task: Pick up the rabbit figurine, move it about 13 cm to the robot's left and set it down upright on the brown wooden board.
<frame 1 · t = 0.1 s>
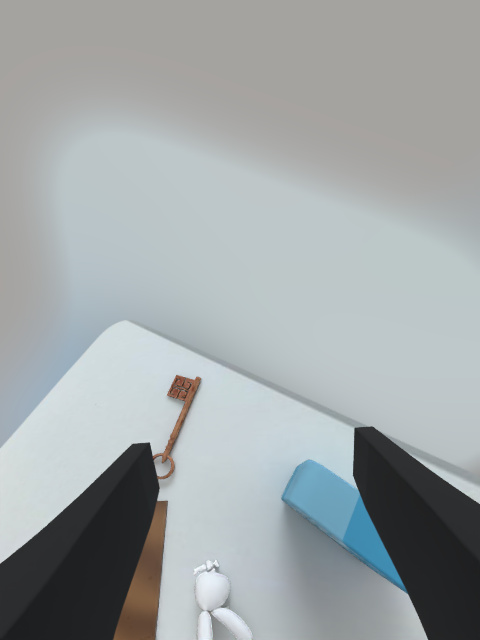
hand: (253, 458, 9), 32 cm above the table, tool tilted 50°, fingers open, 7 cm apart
rabbit figurine: (220, 604, 30), on the table
brown wooden board: (106, 609, 30), on the table
data package: (329, 512, 34), on the table
key: (174, 422, 41), on the table
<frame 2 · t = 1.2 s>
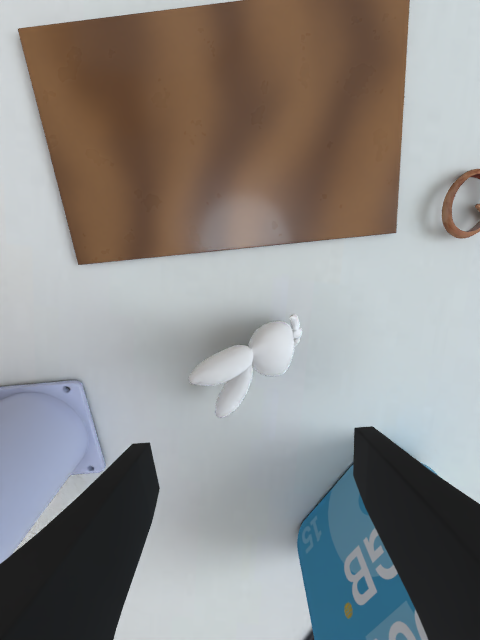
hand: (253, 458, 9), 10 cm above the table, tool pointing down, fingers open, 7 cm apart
rabbit figurine: (244, 349, 19), on the table
brown wooden board: (224, 142, 16), on the table
data package: (353, 493, 23), on the table
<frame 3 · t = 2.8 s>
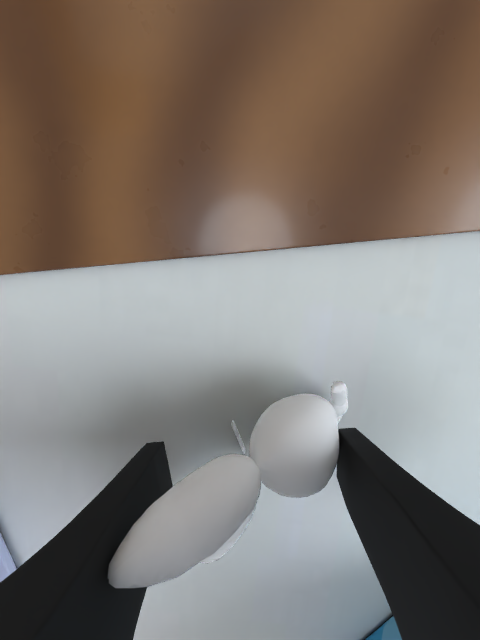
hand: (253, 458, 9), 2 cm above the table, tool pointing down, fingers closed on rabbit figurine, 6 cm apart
rabbit figurine: (245, 425, 11), on the table, touching gripper
brown wooden board: (214, 33, 8), on the table
data package: (414, 628, 15), on the table
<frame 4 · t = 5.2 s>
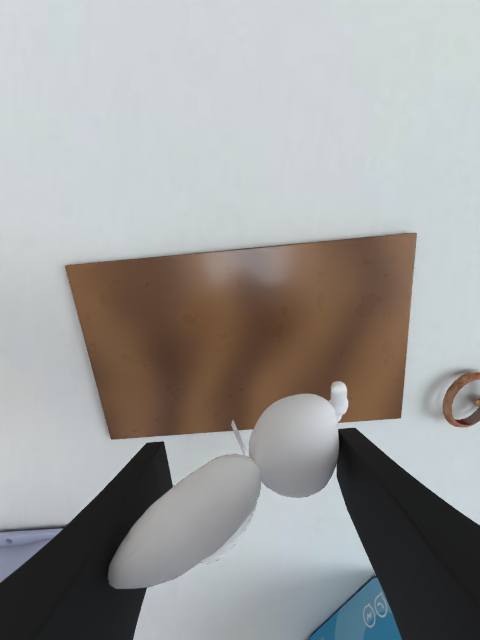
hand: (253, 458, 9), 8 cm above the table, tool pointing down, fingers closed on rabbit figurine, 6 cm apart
rabbit figurine: (245, 425, 11), point 6 cm above the table, touching gripper
brown wooden board: (246, 345, 17), on the table
data package: (358, 613, 24), on the table
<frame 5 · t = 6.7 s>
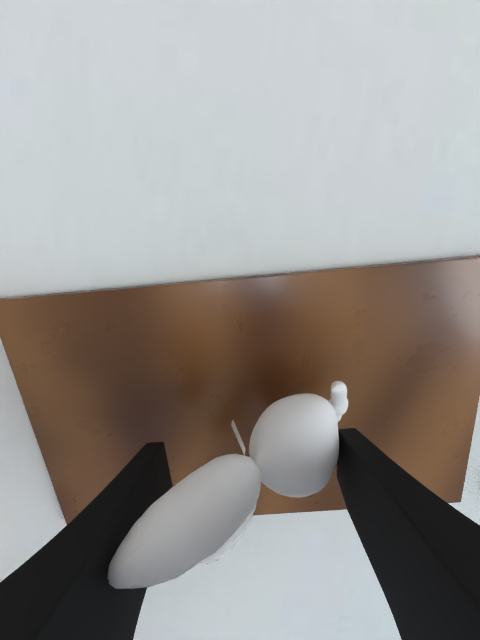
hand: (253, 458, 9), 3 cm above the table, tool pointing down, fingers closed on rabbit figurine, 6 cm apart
rabbit figurine: (245, 425, 11), point 1 cm above the table, touching gripper
brown wooden board: (250, 407, 12), on the table
when the fingers open (2 cm above the table, at t = 7.6 s): rabbit figurine stays where it is, resting on brown wooden board.
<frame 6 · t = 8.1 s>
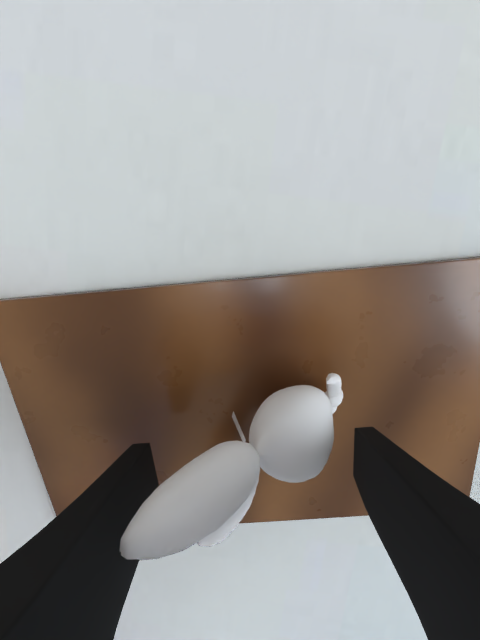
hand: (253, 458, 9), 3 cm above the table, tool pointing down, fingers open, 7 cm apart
rabbit figurine: (245, 417, 12), resting on brown wooden board
brown wooden board: (250, 412, 12), on the table
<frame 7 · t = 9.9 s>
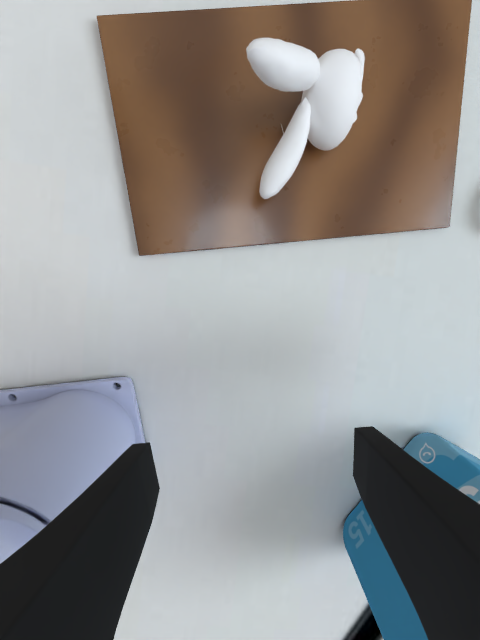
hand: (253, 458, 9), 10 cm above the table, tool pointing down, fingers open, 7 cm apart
rabbit figurine: (288, 136, 16), resting on brown wooden board
brown wooden board: (292, 136, 16), on the table
data package: (396, 486, 23), on the table
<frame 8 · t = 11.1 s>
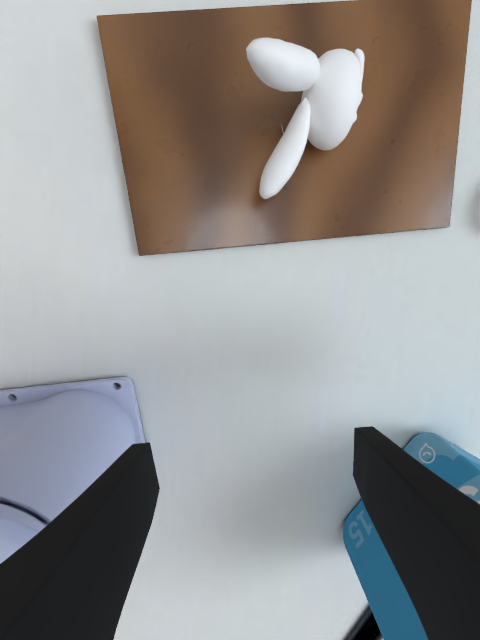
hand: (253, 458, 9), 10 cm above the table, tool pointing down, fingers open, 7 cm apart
rabbit figurine: (288, 136, 16), resting on brown wooden board
brown wooden board: (292, 136, 16), on the table
data package: (396, 486, 23), on the table
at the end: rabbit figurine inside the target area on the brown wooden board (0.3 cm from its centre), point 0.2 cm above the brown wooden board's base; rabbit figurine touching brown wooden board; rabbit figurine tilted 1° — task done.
